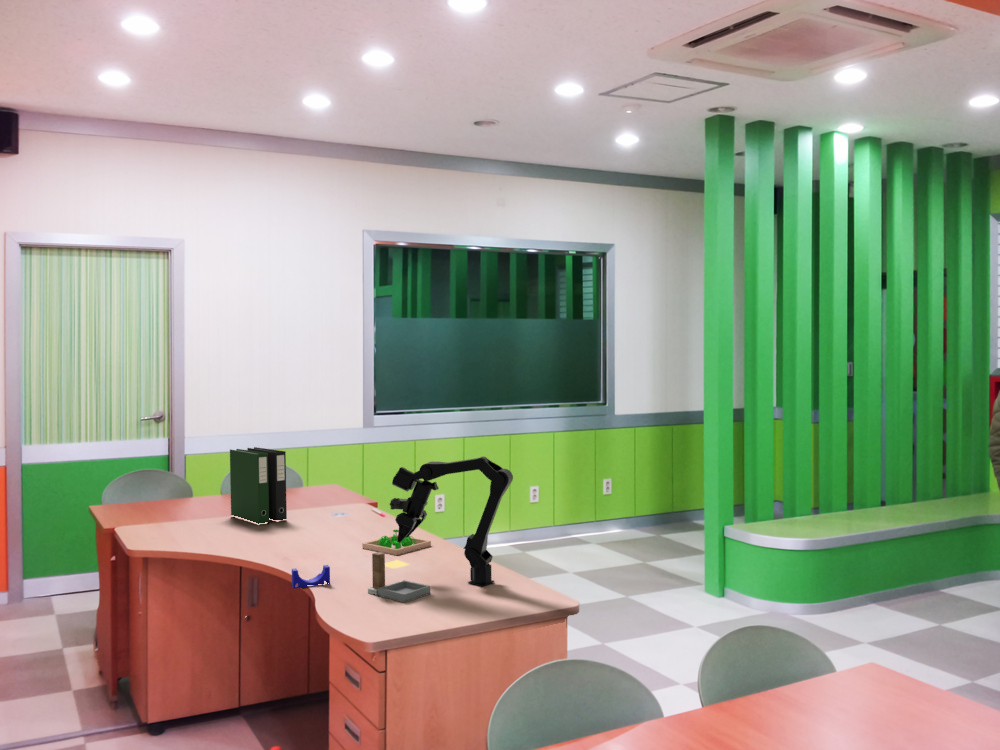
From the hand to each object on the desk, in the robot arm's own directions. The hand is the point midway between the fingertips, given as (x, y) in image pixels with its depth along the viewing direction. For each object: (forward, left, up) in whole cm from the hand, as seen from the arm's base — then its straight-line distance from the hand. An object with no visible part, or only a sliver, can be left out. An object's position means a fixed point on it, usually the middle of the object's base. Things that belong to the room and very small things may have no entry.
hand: (402, 539), depth 288 cm
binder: (+129, -34, -14) cm, 134 cm away
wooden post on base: (-4, +15, -14) cm, 21 cm away
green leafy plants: (+36, -32, -14) cm, 51 cm away
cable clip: (+20, +23, -14) cm, 34 cm away
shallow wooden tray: (+36, -32, -14) cm, 50 cm away
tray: (-13, +13, -14) cm, 23 cm away
